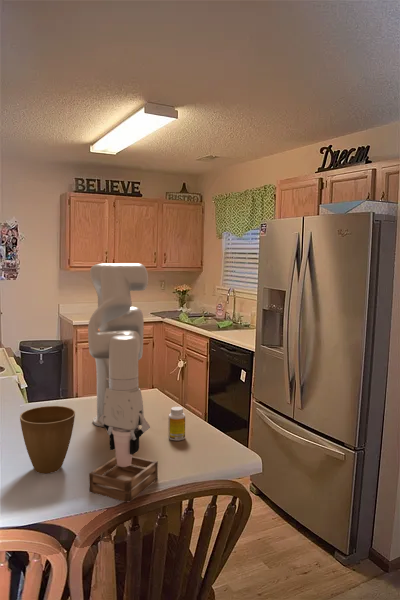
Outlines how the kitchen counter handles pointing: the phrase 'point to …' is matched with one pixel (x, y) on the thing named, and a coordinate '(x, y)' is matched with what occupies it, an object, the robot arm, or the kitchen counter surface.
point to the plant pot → (47, 436)
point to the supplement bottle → (176, 424)
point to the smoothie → (122, 446)
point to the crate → (123, 478)
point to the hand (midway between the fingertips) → (124, 449)
